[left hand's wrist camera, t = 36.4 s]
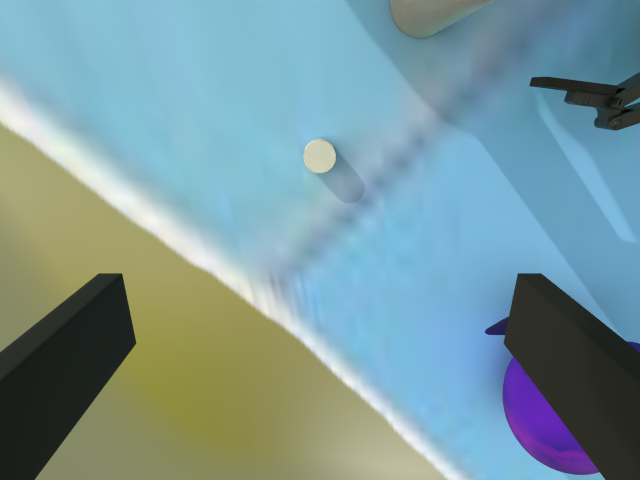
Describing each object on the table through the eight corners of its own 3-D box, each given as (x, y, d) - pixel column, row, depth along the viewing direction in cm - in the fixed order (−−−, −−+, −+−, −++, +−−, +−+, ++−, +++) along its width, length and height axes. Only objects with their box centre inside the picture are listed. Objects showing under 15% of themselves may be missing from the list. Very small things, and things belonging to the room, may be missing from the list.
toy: (559, 243, 51) (563, 381, 63) (444, 295, 49) (471, 429, 61) (694, 303, 37) (666, 467, 49) (542, 381, 35) (551, 532, 47)
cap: (297, 151, 47) (296, 153, 45) (322, 131, 46) (322, 132, 45) (316, 177, 48) (316, 180, 47) (342, 157, 48) (342, 160, 46)
